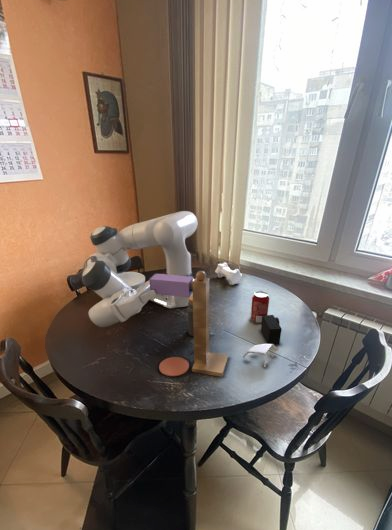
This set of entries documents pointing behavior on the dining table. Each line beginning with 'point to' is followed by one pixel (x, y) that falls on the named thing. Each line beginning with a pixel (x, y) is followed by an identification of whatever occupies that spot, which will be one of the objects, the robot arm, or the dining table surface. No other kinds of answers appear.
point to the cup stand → (204, 330)
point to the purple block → (171, 285)
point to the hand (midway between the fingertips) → (161, 285)
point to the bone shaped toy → (228, 273)
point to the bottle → (190, 316)
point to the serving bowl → (133, 279)
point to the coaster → (174, 366)
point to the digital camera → (271, 329)
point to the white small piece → (261, 350)
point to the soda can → (259, 306)
